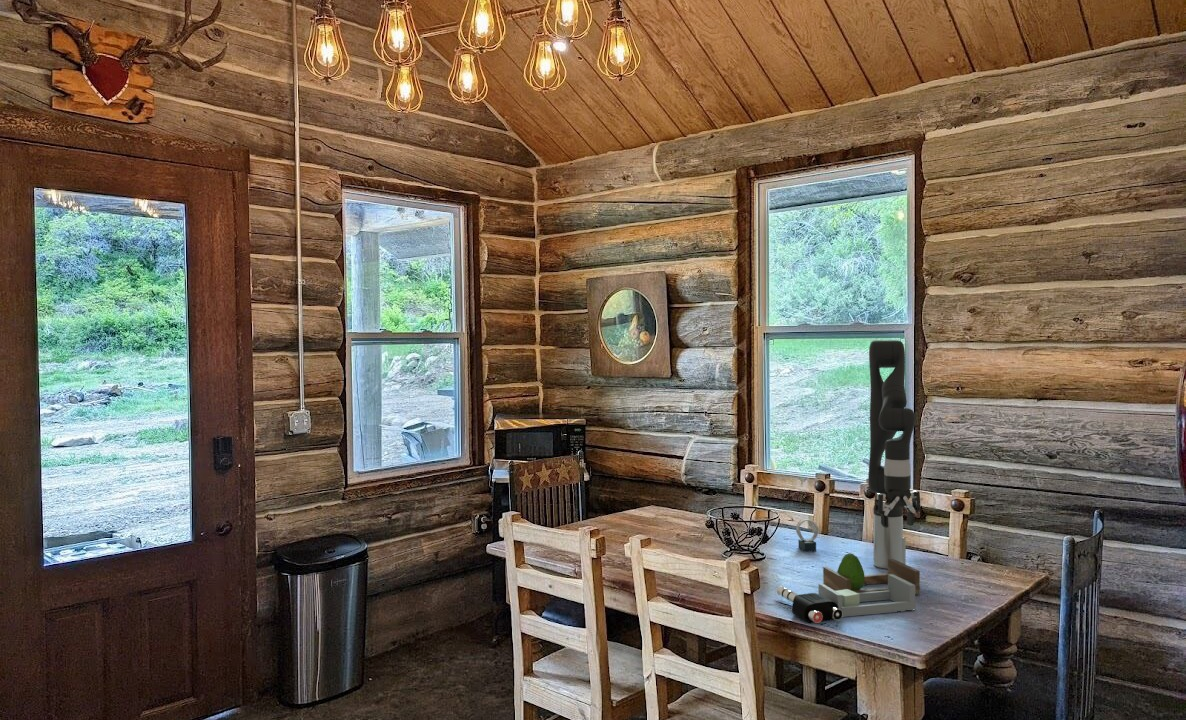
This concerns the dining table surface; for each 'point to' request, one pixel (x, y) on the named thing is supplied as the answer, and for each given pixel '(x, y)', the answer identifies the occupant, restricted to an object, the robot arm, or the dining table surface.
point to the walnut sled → (873, 577)
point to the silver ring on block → (807, 544)
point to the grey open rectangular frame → (877, 598)
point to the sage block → (849, 598)
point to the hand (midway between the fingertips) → (897, 526)
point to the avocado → (852, 571)
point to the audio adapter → (811, 606)
